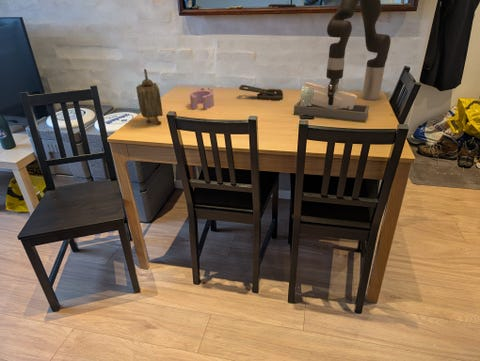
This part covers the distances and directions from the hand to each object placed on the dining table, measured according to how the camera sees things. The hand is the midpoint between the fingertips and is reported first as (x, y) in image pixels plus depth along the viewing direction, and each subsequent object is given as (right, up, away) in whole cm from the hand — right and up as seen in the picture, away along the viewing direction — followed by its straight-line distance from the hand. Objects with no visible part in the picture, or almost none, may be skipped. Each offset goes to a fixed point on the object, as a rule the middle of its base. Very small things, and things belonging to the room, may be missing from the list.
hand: (331, 102), depth 169 cm
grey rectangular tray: (0, -5, +3) cm, 6 cm away
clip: (-65, +4, +24) cm, 69 cm away
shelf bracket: (-2, -3, +2) cm, 4 cm away
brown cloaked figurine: (-87, -9, 0) cm, 88 cm away
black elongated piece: (-33, +9, +31) cm, 46 cm away
